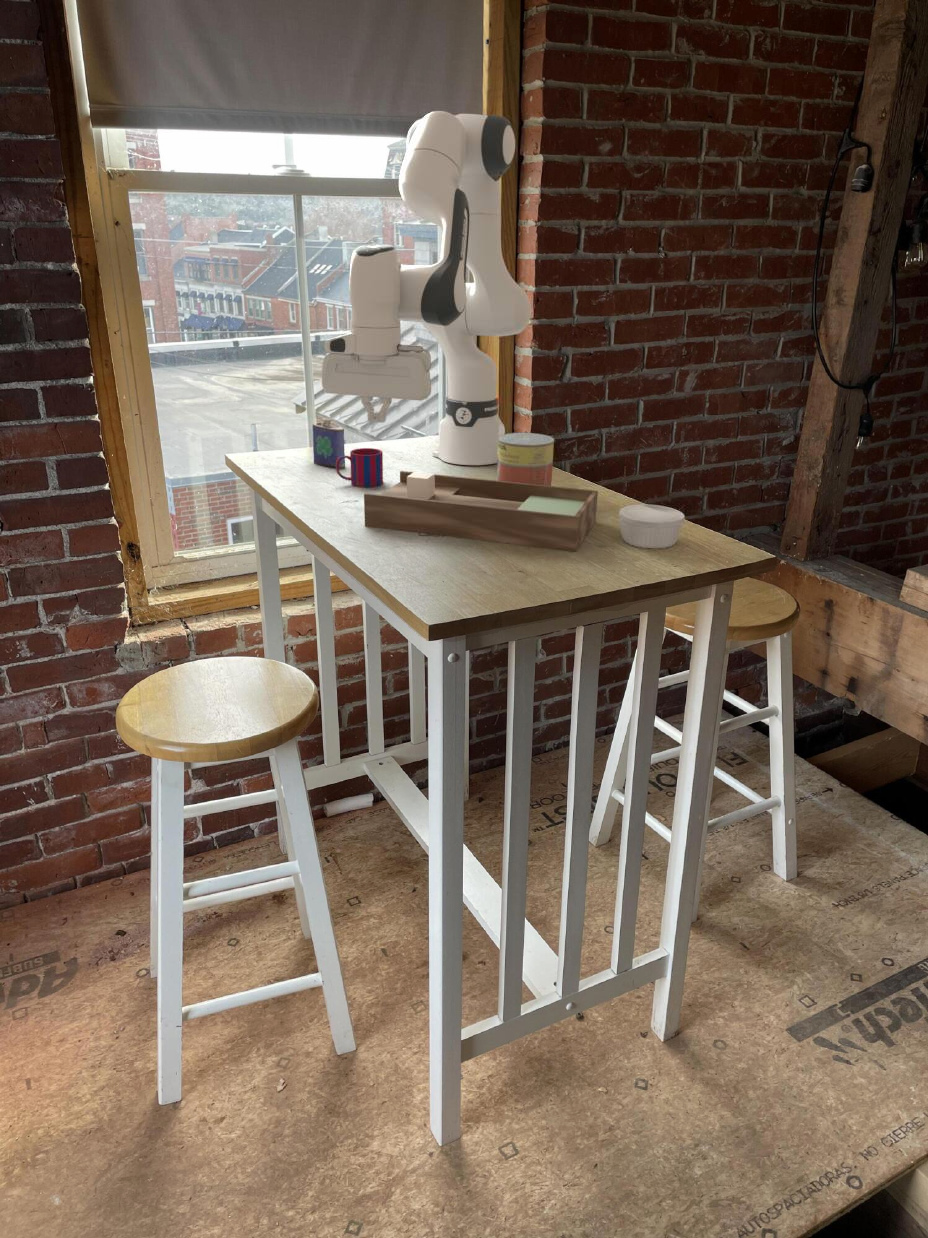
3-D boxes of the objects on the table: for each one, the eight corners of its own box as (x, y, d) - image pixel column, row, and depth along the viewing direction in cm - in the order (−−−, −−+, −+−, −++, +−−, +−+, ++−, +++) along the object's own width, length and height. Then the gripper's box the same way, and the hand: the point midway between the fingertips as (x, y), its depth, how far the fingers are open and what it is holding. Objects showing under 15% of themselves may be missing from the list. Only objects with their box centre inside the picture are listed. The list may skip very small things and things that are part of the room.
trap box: (401, 500, 181) (401, 470, 178) (595, 521, 170) (597, 490, 167) (364, 525, 165) (363, 493, 162) (575, 551, 154) (578, 517, 152)
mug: (386, 486, 190) (385, 454, 187) (338, 489, 187) (337, 456, 185) (379, 478, 196) (378, 447, 193) (333, 481, 193) (332, 449, 190)
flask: (347, 467, 204) (345, 419, 200) (338, 470, 202) (336, 421, 198) (319, 461, 209) (316, 414, 205) (309, 463, 207) (307, 416, 203)
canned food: (500, 488, 191) (502, 431, 186) (553, 491, 189) (556, 434, 184) (491, 502, 180) (493, 442, 176) (548, 506, 178) (551, 446, 174)
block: (414, 492, 171) (414, 471, 170) (434, 494, 170) (434, 473, 169) (406, 497, 168) (406, 476, 166) (427, 500, 167) (427, 478, 165)
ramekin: (687, 537, 163) (690, 508, 161) (674, 555, 153) (677, 525, 151) (626, 528, 167) (628, 500, 165) (609, 545, 157) (612, 516, 155)
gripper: (436, 344, 160) (436, 423, 166) (332, 338, 166) (334, 414, 172) (424, 348, 155) (423, 429, 160) (316, 341, 161) (319, 420, 166)
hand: (376, 421), depth 166 cm, fingers closed
